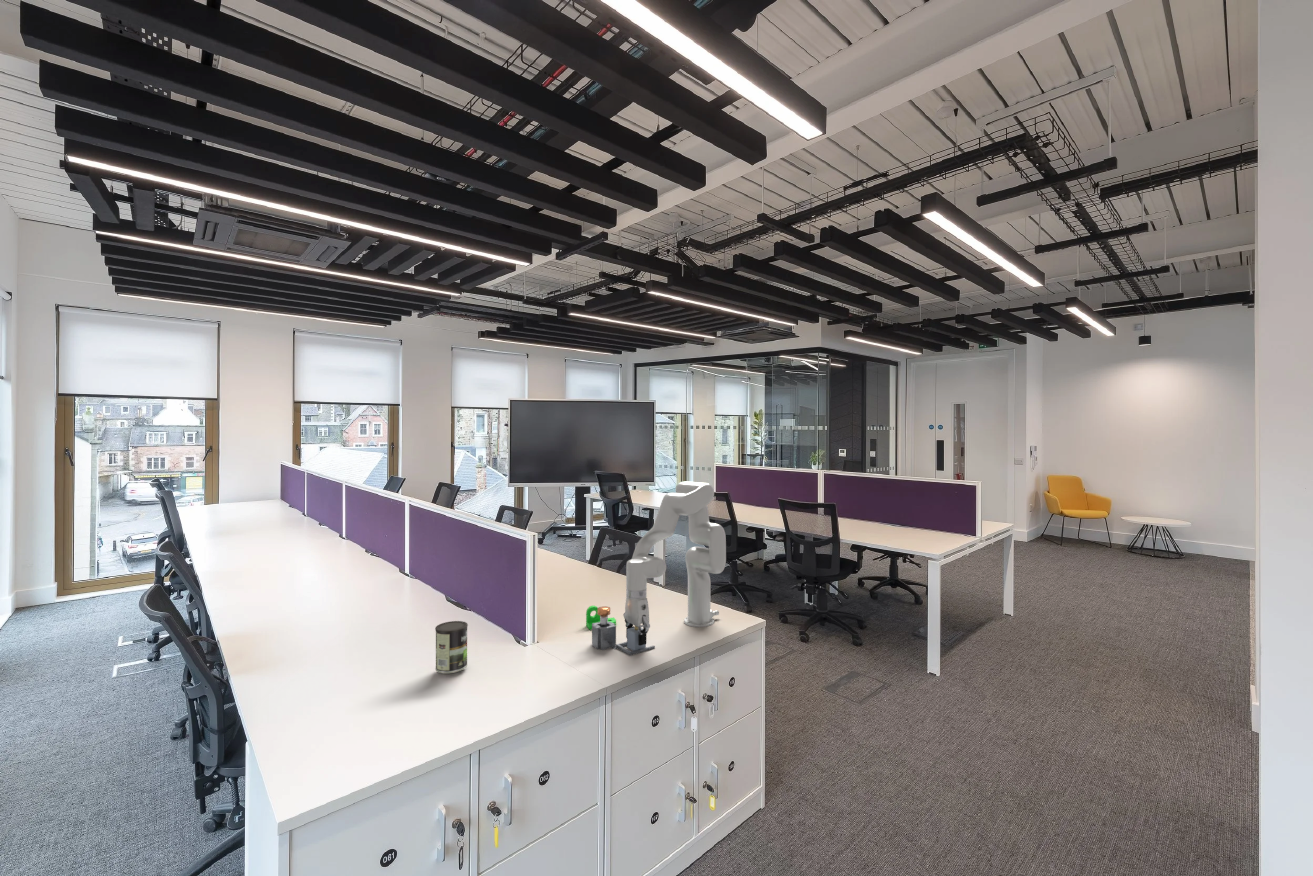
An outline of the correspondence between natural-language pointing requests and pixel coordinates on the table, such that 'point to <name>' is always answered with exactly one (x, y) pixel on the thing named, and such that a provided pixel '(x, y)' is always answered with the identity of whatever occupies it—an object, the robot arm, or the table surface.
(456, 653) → the coffee can
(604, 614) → the plunger
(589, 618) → the mechanical part
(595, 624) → the copper disc holder
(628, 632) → the light blue block
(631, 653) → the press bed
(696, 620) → the robot arm
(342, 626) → the table surface
